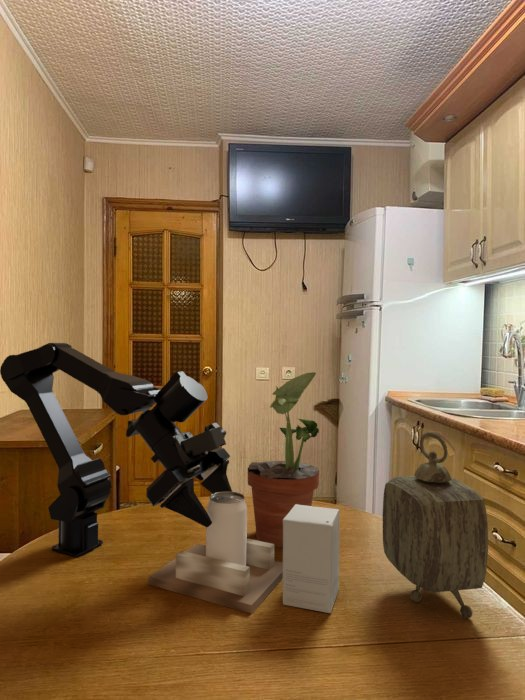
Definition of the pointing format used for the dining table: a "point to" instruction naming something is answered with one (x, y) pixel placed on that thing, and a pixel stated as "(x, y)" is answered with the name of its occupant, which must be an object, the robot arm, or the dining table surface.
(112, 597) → the dining table surface
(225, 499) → the can
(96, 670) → the dining table surface
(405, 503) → the tabletop clock
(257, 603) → the slot block
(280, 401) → the potted plant
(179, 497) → the robot arm
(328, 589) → the supplement box
